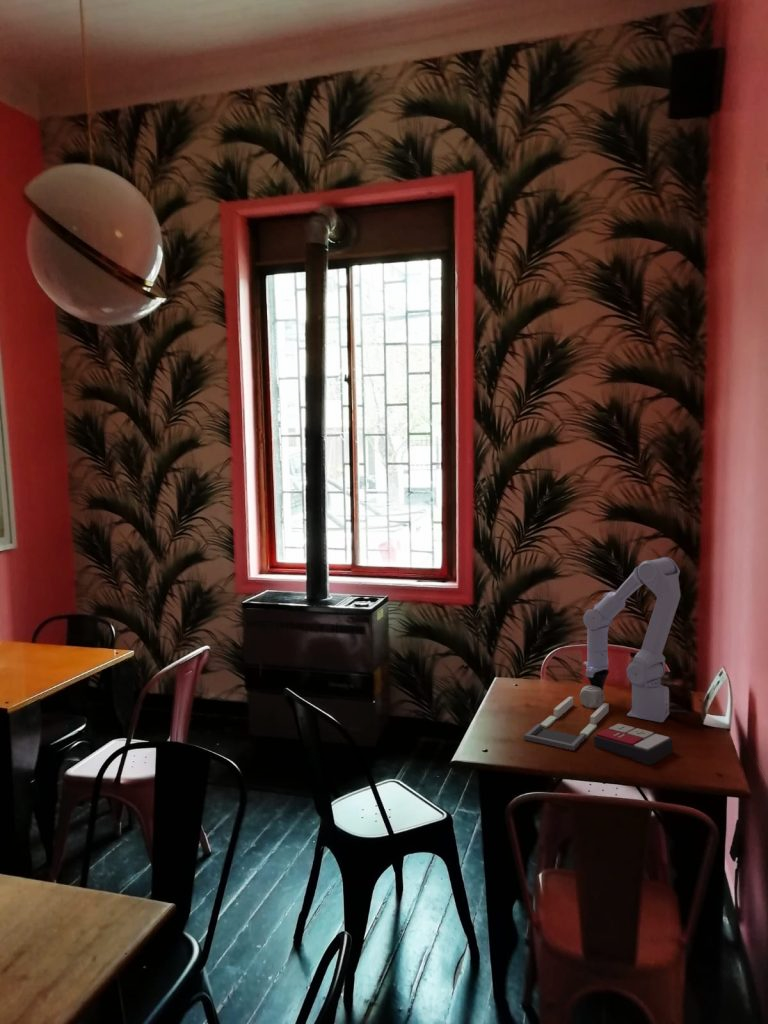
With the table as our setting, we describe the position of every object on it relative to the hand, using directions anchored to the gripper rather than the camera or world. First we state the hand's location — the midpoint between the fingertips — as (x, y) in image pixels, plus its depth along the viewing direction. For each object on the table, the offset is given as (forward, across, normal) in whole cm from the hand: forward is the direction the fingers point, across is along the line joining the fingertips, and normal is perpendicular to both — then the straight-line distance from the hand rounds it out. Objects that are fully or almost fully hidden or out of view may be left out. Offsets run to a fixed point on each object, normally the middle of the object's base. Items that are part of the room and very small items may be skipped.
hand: (597, 694), depth 209 cm
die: (+2, +5, 0) cm, 5 cm away
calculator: (+2, +29, +18) cm, 34 cm away
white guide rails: (+2, +14, 0) cm, 14 cm away
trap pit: (+2, +33, 0) cm, 33 cm away
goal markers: (+2, +24, 0) cm, 24 cm away
